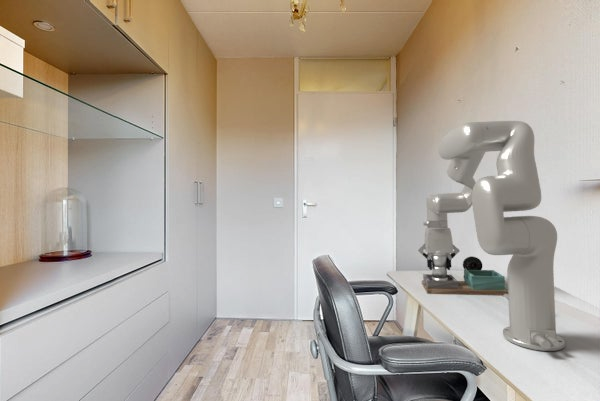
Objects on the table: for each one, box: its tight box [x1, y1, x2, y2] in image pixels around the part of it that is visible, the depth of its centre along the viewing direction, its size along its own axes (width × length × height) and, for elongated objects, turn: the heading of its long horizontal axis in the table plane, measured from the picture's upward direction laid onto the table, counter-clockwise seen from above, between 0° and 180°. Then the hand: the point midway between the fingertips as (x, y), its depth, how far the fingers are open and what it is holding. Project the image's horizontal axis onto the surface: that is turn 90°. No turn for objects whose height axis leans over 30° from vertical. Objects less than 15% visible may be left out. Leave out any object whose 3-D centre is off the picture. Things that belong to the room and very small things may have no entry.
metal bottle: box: [431, 250, 448, 281], centre depth 126 cm, size 6×7×20 cm
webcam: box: [462, 256, 483, 271], centre depth 139 cm, size 8×8×10 cm
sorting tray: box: [421, 269, 508, 296], centre depth 124 cm, size 14×28×6 cm, turn 77°
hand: (439, 268), depth 126 cm, fingers closed on metal bottle, 6 cm apart
